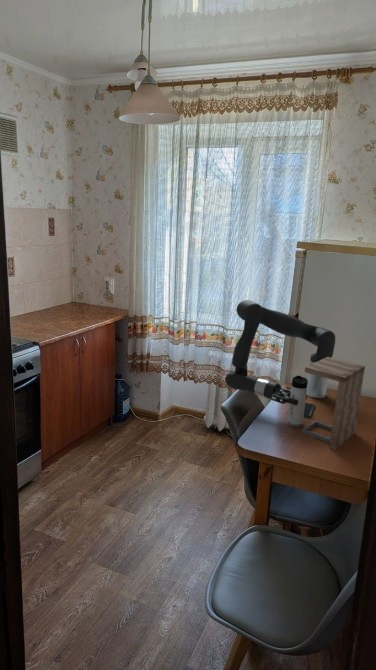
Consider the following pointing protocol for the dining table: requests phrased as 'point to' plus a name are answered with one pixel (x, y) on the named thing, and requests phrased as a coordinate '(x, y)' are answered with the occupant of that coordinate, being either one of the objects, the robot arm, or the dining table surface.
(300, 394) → the travel mug
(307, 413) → the phone
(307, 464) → the dining table surface
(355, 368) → the overhang shelf
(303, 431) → the seat frame
